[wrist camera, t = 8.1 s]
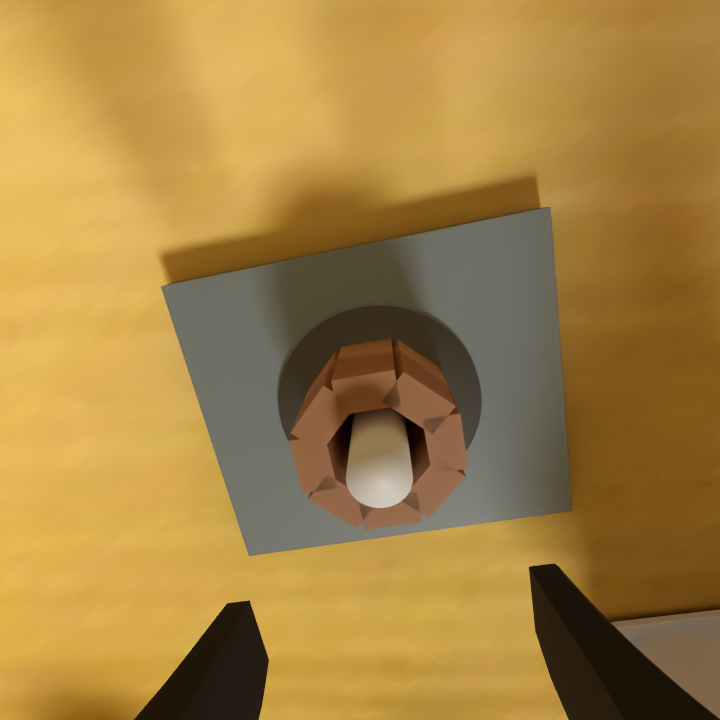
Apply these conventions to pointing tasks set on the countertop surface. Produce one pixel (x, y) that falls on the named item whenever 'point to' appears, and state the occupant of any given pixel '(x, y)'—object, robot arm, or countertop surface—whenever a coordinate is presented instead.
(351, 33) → the countertop surface
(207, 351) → the post board
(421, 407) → the collar
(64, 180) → the countertop surface
